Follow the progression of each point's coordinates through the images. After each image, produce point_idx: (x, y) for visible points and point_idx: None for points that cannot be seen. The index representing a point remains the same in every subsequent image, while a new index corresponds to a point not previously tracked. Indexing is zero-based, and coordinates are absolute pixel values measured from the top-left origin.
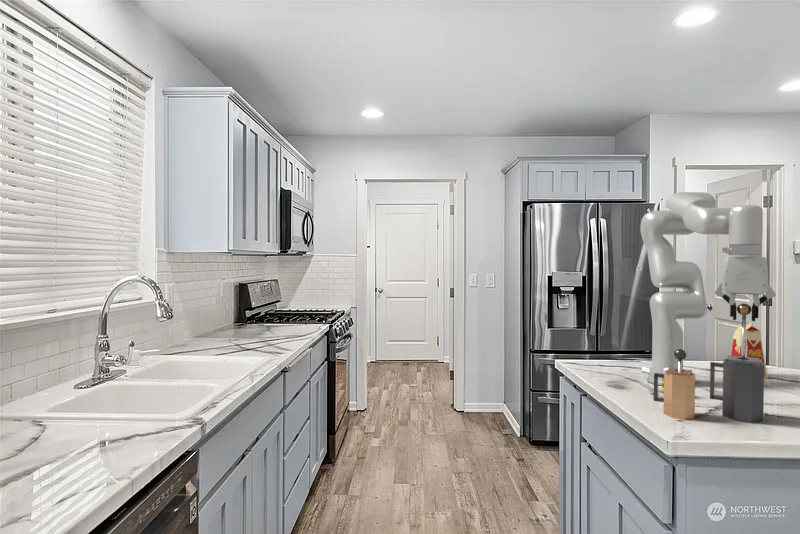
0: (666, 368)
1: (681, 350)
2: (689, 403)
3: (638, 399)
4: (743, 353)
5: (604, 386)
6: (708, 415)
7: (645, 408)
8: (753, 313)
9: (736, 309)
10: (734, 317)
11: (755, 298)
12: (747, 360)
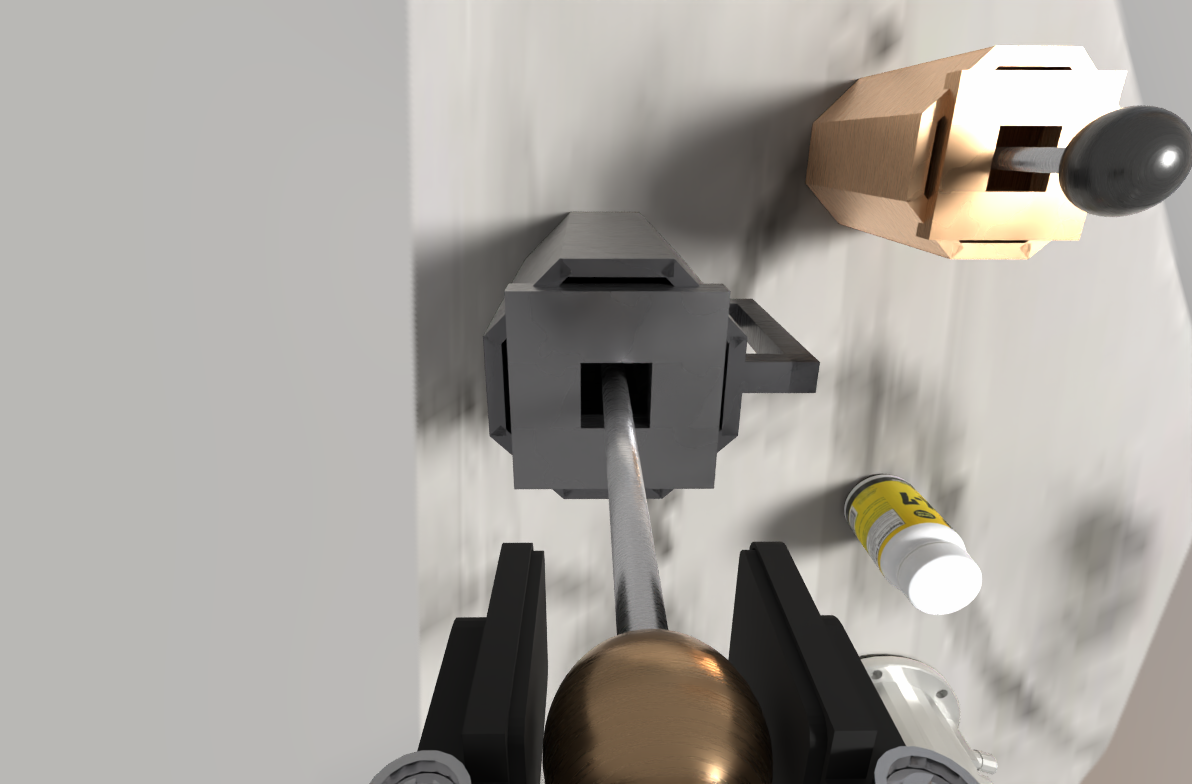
0: (968, 588)
1: (1153, 135)
2: (869, 95)
3: (1034, 355)
4: (617, 399)
5: (1165, 514)
6: (742, 238)
7: None
8: (514, 619)
9: (788, 667)
10: (776, 556)
11: None
12: (590, 329)
